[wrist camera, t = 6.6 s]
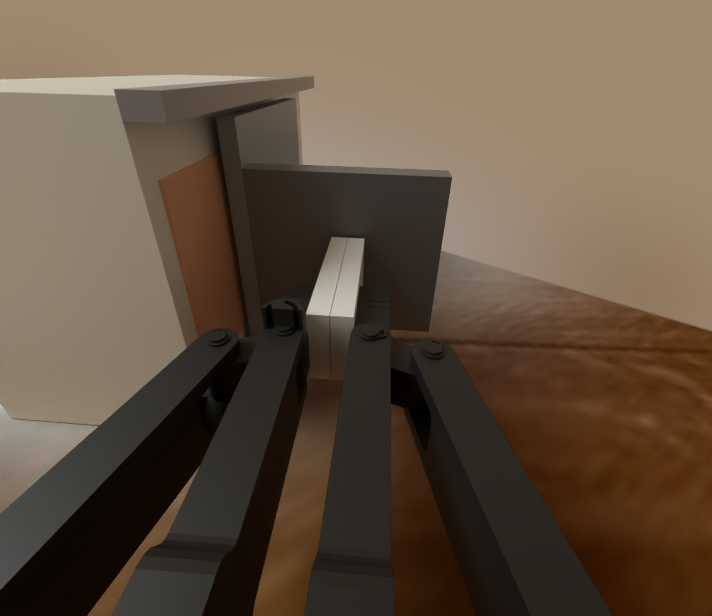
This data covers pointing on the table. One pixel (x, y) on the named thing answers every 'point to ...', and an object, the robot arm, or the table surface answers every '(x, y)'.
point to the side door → (327, 216)
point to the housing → (114, 233)
